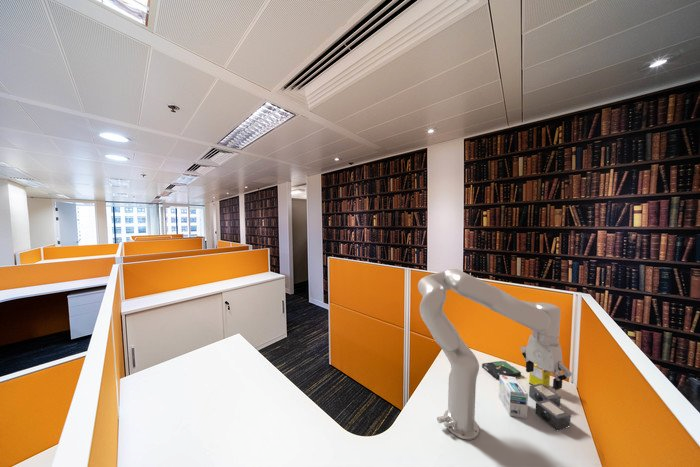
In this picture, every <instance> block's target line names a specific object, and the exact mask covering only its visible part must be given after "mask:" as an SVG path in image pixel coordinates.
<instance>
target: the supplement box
mask: <svg viewBox="0 0 700 467" xmlns="http://www.w3.org/2000/svg"><path fill="white" fill-rule="evenodd" d="M528 376H529V379H528V380H529V381H528V383H529V384H528V385H529V386H531V385H536V384H540V383H541V384H543V385H544V386H546V387H547V388H549V389H550V378H551V372H548V371H547V370H545V369H543V368H541V367H540V366H538V365H536V364H535V363H534V371H533V372H529V375H528Z"/></svg>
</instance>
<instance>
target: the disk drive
mask: <svg viewBox="0 0 700 467" xmlns="http://www.w3.org/2000/svg"><path fill="white" fill-rule="evenodd" d="M481 368H482V369H484V370H485V371H486V372H487V374H489V375H490V376H492V377H493V378H494V380H496V381H499V380H500V375H503V376H510V377H515V378H518V377H520V378H521V376H522V372H521V371H519V370H518V369H517V368H516V367H514V366H512V365H511V364H509V363H508V362H507V361H504V360H503V361H501V360H500V361H492V362H491V361H490V362H484V363H482V364H481Z"/></svg>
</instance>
